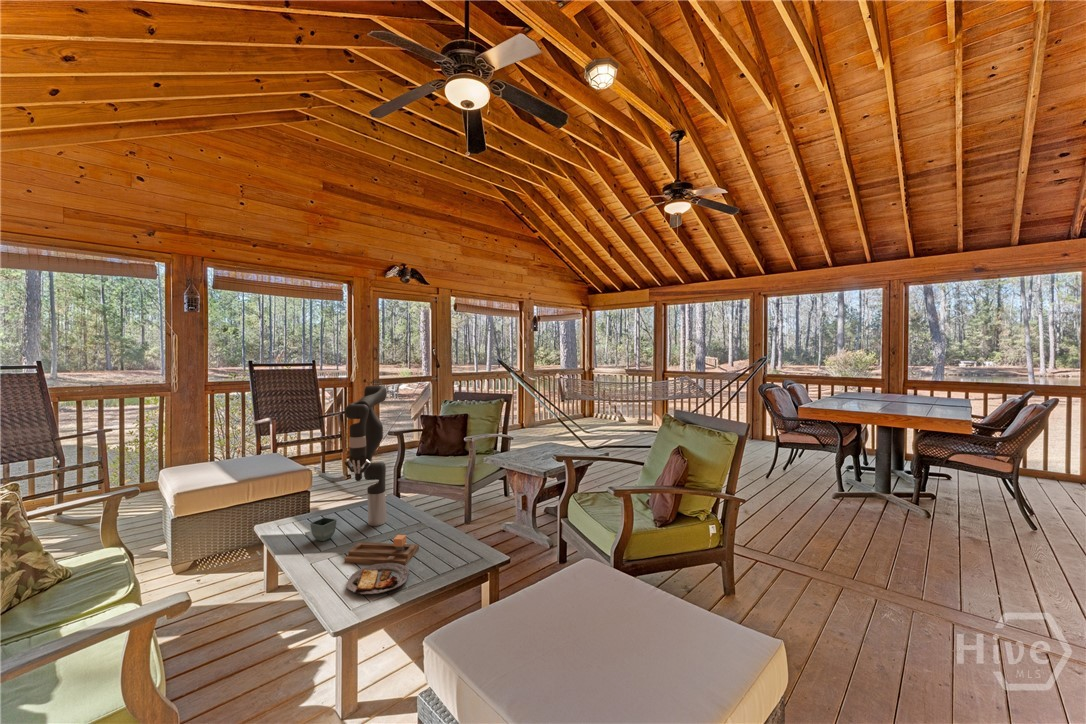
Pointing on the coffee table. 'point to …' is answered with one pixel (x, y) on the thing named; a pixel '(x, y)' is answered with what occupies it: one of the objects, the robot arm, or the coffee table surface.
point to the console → (380, 553)
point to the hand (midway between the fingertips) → (358, 480)
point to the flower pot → (323, 528)
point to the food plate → (371, 584)
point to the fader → (399, 542)
